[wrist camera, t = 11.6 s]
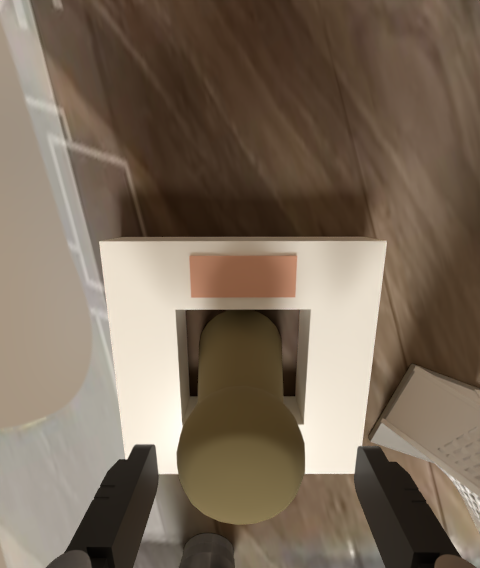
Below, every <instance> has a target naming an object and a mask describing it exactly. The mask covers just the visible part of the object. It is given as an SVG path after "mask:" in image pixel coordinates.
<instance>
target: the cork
mask: <svg viewBox="0 0 480 568" xmlns="http://www.w3.org/2000/svg"><path fill="white" fill-rule="evenodd" d="M176 455H177V469H178V475H179V480H180V483H181V485H182V487H183V489H184V491H185V493H186V495H187V496H188V498H189V500H190V501H191V503H192V504H193V505H194V506H195V507H196V508H197V509H198V510H200V511H201V512H202V513H203V514H204V515H206V516H209V517H211V518H213V519H215V520H217V521H219V522H225V523H230V524H236V525H240V524H255V523H258V522H261V521H264V520H267V519H270V518H272V517H274V516H275V515H277V514H278V513H280V512H282V511H283V510H285V509H286V508H287V506H288V505H289V504H290V503H291V502H292V500H293V499H294V498H295V496H296V494H297V492H298V490H299V487H300V484H301V482H302V479H303V476H304V473H305V443H304V440H303V436H302V433H301V431H300V428H299V426H298V424H297V421H296V419H295V417H294V416H293V414H292V413H291V411H290V410H289V409H288V407H287V406H286V405H285V404H284V400H283V369H282V343H281V337H280V334H279V332H278V330H277V327H276V326H275V325H274V324H273V323H272V322H271V321H270V319H269V318H267V317H266V316H264V315H262V314H261V313H259V312H257V311H253V310H249V309H242V310H228V311H225V312H223V313H220V314H218V315H217V316H215V317H214V318H213V319H212V320H211V321H209V322H208V324H207V325H206V327H205V328H204V330H203V332H202V333H201V338H200V342H199V365H198V403H197V405H196V406H195V408H194V409H193V411H192V412H191V414H190V416H189V417H188V419H187V420H186V422H185V423H184V425H183V427H182V431H181V434H180V438H179V443H178V448H177V452H176Z"/></svg>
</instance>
